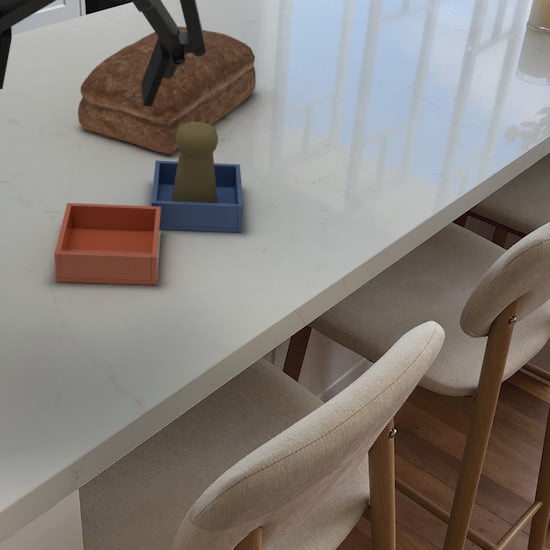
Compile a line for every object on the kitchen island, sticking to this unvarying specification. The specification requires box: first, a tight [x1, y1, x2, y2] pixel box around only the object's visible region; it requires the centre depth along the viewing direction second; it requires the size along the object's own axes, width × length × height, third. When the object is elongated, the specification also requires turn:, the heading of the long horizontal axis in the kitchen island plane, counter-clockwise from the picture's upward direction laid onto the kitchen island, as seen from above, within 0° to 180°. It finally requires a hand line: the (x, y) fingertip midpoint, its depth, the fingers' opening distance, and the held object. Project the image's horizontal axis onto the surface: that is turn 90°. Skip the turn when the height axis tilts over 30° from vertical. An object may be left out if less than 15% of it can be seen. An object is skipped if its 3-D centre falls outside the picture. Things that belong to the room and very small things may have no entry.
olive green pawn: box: [171, 122, 219, 203], centre depth 112 cm, size 6×6×11 cm
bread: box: [77, 26, 257, 155], centre depth 136 cm, size 17×29×11 cm, turn 155°
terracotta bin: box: [53, 202, 162, 286], centre depth 103 cm, size 11×11×4 cm
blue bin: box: [150, 160, 244, 233], centre depth 114 cm, size 11×11×4 cm
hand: (74, 86), depth 82 cm, fingers open, 13 cm apart
